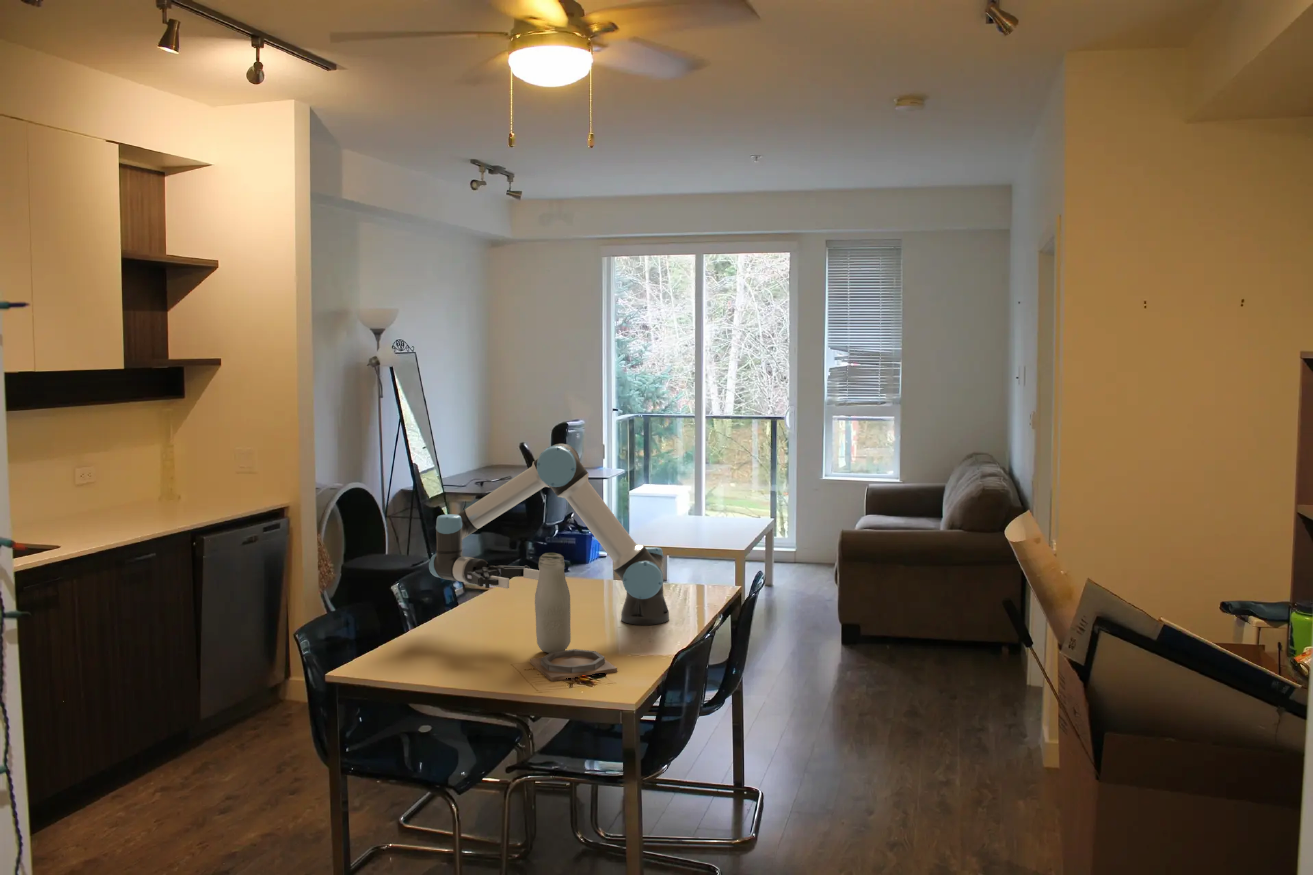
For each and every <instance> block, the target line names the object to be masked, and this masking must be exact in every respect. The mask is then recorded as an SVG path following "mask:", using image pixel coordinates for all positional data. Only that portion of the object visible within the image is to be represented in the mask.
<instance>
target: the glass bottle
mask: <svg viewBox="0 0 1313 875" xmlns="http://www.w3.org/2000/svg"><path fill="white" fill-rule="evenodd" d="M564 558H565V557H564V556H563V555H562V554H561V553H556V552H545V553H543V554H542V555H540V556H539V557H538V569H539V580H537V584H536V588H535V593H534V606H535V607H534V611H535V634H536V635H535V636H536V644H537V645H538V648H539V650H541V651H542V652H544V653H547V654H549V653H551V652H556V651H564V650H568V647H569V646H570V644H571V640H572V637H571V633H572V632H571V594H570V590H569V586H568V582H567V579H566V574H565V566H566V565H565V561H564V560H565V559H564Z"/></svg>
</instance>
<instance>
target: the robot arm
mask: <svg viewBox="0 0 1313 875" xmlns="http://www.w3.org/2000/svg"><path fill="white" fill-rule="evenodd" d="M580 459H581V458H580V455H579V453H578V452H577V450H576V449H575V448H574V447H573V446H571V445H570V444H566V443H556V444H553V445H551V446H548V447H547V448H545V449H544V450H543V451H542V452H541V453H540V454H539V456H538V458H537V459H535V460H534V461H532V465H531V466H530V467H528V468H526V469H525V470H524V471H523V472H521V473H519V474H518V475H516V476H515V477H513V478H512V479H510V480H509V481H507V482H505V483H504V484H502V485H500V486H499V487H497V488H496V489H494V490H492V491H491V492H490V493H488V494H487V495H484V496H483V497H482V498H480V499H479V500H477V501H476V502H474V503H473V504H471V505H469V506H468V507H466V508H465V509H463V510H462V511H460V512H458V513H455V514H450V513H449V514H448V513H447V514H441V515H438V516H437V518H436V525H435V530H436V531H435V532H436V536H435V538H436V552H435V554H433V555H432V556H431V558H430V560H429V563H428V570H429V572H430V574H432V576H434V577H436V578H438V579H439V578H440V579H442V580H449V581H455V582H462V583H463V584H464V585H467V584H472V585H477V586H478V587H485V589H489V588H490V586H491V587H496V588H497V587H498V588H503V589H507V590H508V589H510V578H514V577H515V578H519V577H521V578H522V577H523V578H524V579H528V580H529V579H530V580H535V581H538V580H539V570H538V569H532V568H530V566H528V565H524V566H520V565H504V564H503V565H502V564H498V565H496V566H495V565H489V563H488V561H486V560H485V559H483V558H476V557H475V558H474V557H472V556H471V557H469V556H463V553H462V551H463V546H462V545H463V544H462V543H463V540H464V539H465V538H467V537H469V535H471V534H473V533H475V532H476V531H478V529H481V528H483V526H486V525H487V524H488V523H490V522H491V521H493V520H495V519H496V518H498V517H499V516H501V515H503V514H504V513H506V512H508V511H509V510H511V509H512V508H514V507H515V506H517V505H518V504H520V503H521V502H523V501H525V500H526V499H528V498H530V497H532V495H534V494H536V493H537V492H539V491H541V490H542V489H543V488H550V489H551V490H552V491H553V493H554V494H555V495H556V497H557V498H563V499H565V500H566V501H567V503H568V504H569V505H570V506H571V508H572V509H573V511H574V512H575V514H577V515H578V517H579V518H580V519H581V520H582V522H583V523H584V525H585V527H587V529H588V530H589V531H590V533H591V534H592V535H593V537H594V538H595V540H596V541H597V542H598V544H599V545H601V546H600V547H602V549H604V551H605V553H606V554H607V555H608V556H609V557H610V559H611V561H612V563H613V564H612V565H613V566H612V570H613V571H614V572H615V573H616V575H617V576H618V578H619V580H621V582H622V584H623V587H624V590H625V591H626V596H625V598H624V599H625V600H624V602H623V607H622V609H621V613H620V619H621V622H623V623H626V624H629V625H637V626H652V625H659V624H660V625H661V624H665V623H666V622H668V621H670V620H669V619H670V611H669V608H668V605H667V602H666V600H665V597H664V557H665V556H664V553H663V549H662V548H661V547H659V546H658V547H656V546H655V547H654V546H652V547H651V546H645V545H644V544H638V543H636V542H635V540H634V539H633V537H631V536H630V534H629V532H627V530H626V528H625V527H624V526H623V525H622V523H621V522H620V521H619V519H618V518H617V517H616V515H615V514H614V513H613V512H612V510H611V509H610V507H609V506H608V505H607V503H605V500H603V499H602V497H601V496H600V495H599V493H598V491H596V489H595V487H593V485H592V484H591V483H590V482H589V472H588V471H587V470H586V468H585V467H584V465H583V464H582V462H581V460H580ZM509 577H510V578H509Z"/></svg>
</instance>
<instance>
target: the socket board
mask: <svg viewBox="0 0 1313 875" xmlns="http://www.w3.org/2000/svg"><path fill="white" fill-rule="evenodd" d="M529 664H531V665H532V666H533V667H534V668H535V667H536V668H535V669H536V670H538V669H539V670H538V671H539V672H540V671H541V672H542V673H543V674H542V673H541V672H540V673H541V674H542V675H544V676H545V675H546V676H545V677H546V678H547V679H548V680H549V681H550V682H555V681H557V680H558V681H562V680H569V679H568V678H571V679H576V678H575V677H578V676H582V675H592V674H595V673H605V674H611V673H612V674H613V673H617V672H618V667H616V666H615V665H614V664H612V663H611V662H610V661H608V660H606V658H605V656H604V655H602V654H601V653H599V651H596V650H587V649H577V648H576V649H575V648H573V649H565V650H564V651H556V652H551V653H547V654H546V655H544V656H543V657H537V658H536V657H535V658H530V659H529ZM592 676H593V675H592ZM566 678H567V679H566ZM578 678H579V677H578Z"/></svg>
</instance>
